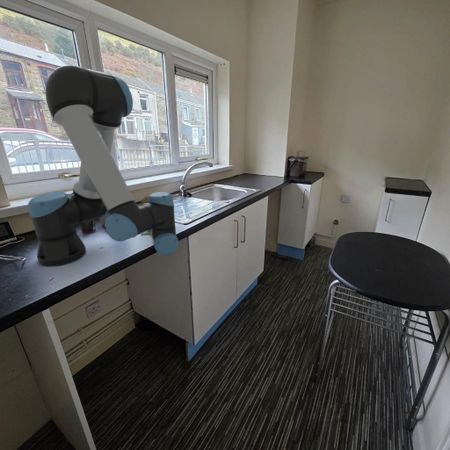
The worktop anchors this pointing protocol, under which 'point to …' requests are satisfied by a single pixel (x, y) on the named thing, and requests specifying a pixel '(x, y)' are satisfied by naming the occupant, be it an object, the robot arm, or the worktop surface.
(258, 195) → the worktop surface
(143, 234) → the plate
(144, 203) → the rock
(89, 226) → the supplement bottle
